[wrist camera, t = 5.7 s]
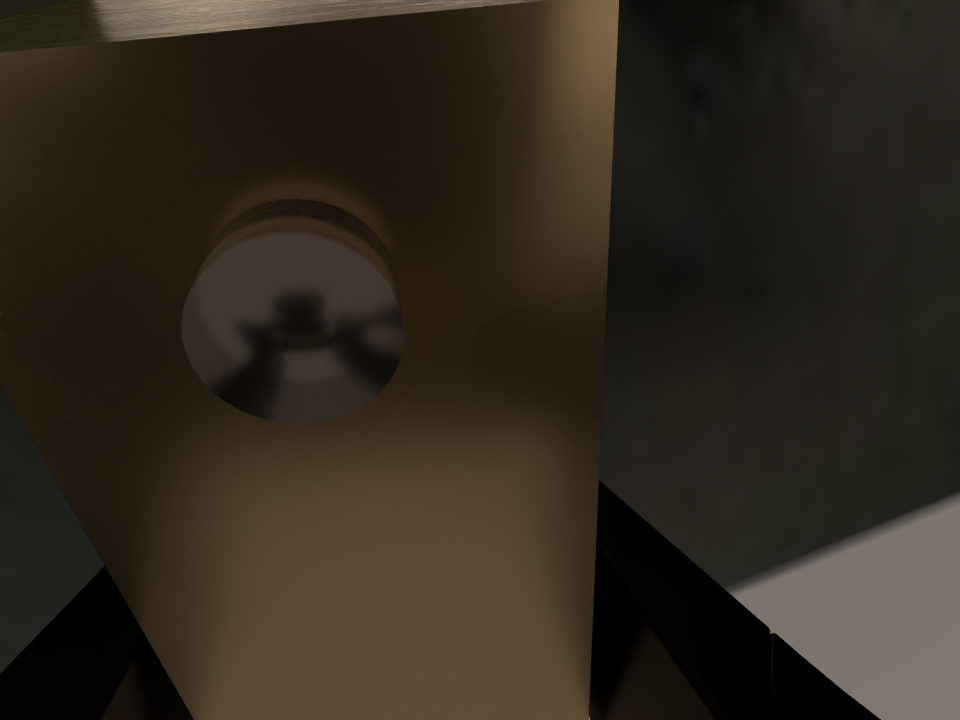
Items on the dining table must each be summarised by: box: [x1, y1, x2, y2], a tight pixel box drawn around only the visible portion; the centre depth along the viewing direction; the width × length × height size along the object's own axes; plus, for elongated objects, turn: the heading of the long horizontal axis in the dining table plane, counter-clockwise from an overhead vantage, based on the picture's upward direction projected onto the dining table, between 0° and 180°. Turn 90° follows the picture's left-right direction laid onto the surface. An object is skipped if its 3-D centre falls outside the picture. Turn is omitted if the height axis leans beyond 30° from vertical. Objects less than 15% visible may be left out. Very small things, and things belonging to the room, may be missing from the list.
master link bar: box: [0, 0, 619, 720], centre depth 8 cm, size 4×12×5 cm, turn 4°
